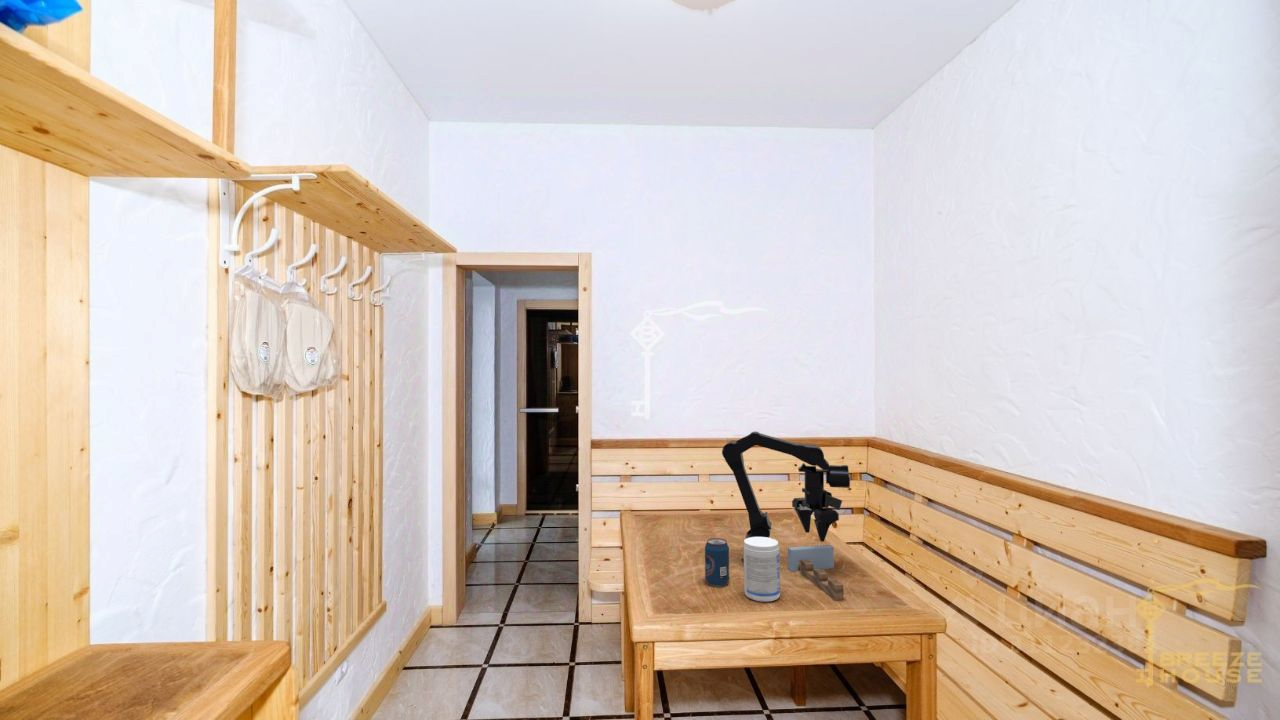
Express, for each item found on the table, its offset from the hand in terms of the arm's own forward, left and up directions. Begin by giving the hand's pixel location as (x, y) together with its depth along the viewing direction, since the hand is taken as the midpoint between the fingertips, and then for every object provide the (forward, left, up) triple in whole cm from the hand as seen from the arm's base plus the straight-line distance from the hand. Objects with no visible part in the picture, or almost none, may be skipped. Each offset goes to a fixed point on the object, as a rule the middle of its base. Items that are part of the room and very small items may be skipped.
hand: (814, 536), depth 168 cm
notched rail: (-5, -13, -10) cm, 17 cm away
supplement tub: (-24, -16, -10) cm, 31 cm away
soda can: (-33, -5, -10) cm, 35 cm away
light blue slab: (-1, 0, -10) cm, 10 cm away
